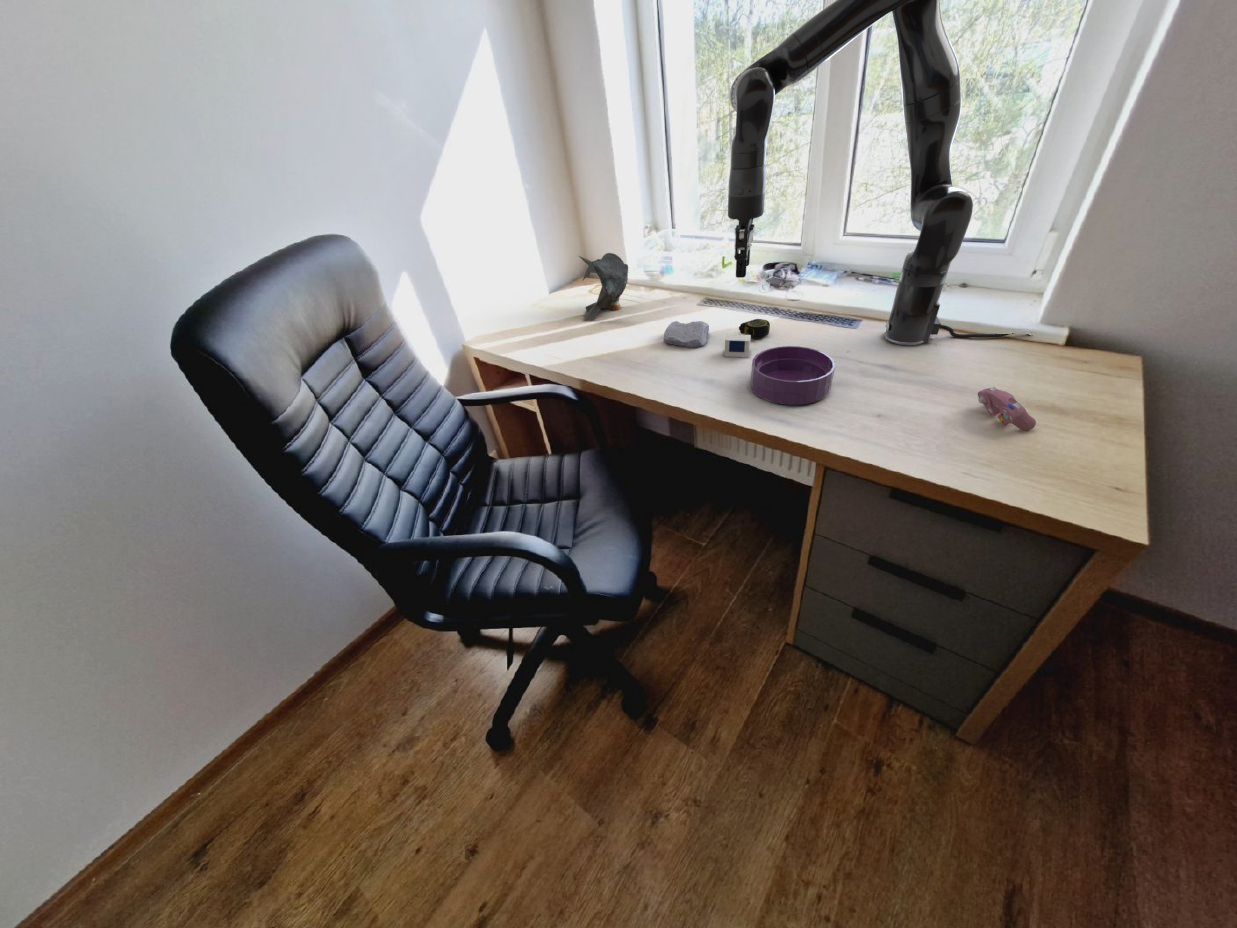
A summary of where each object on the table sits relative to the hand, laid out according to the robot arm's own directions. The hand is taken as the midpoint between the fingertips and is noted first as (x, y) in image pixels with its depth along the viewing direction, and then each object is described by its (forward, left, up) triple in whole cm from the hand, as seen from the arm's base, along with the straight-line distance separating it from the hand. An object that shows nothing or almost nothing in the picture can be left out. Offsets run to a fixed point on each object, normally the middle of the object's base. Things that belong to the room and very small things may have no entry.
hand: (742, 271), depth 108 cm
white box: (0, 0, -21) cm, 21 cm away
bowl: (-13, +16, -21) cm, 29 cm away
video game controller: (-51, +24, -21) cm, 60 cm away
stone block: (+15, -7, -21) cm, 27 cm away
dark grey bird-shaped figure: (+45, -29, -21) cm, 57 cm away
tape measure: (-3, -12, -21) cm, 24 cm away
